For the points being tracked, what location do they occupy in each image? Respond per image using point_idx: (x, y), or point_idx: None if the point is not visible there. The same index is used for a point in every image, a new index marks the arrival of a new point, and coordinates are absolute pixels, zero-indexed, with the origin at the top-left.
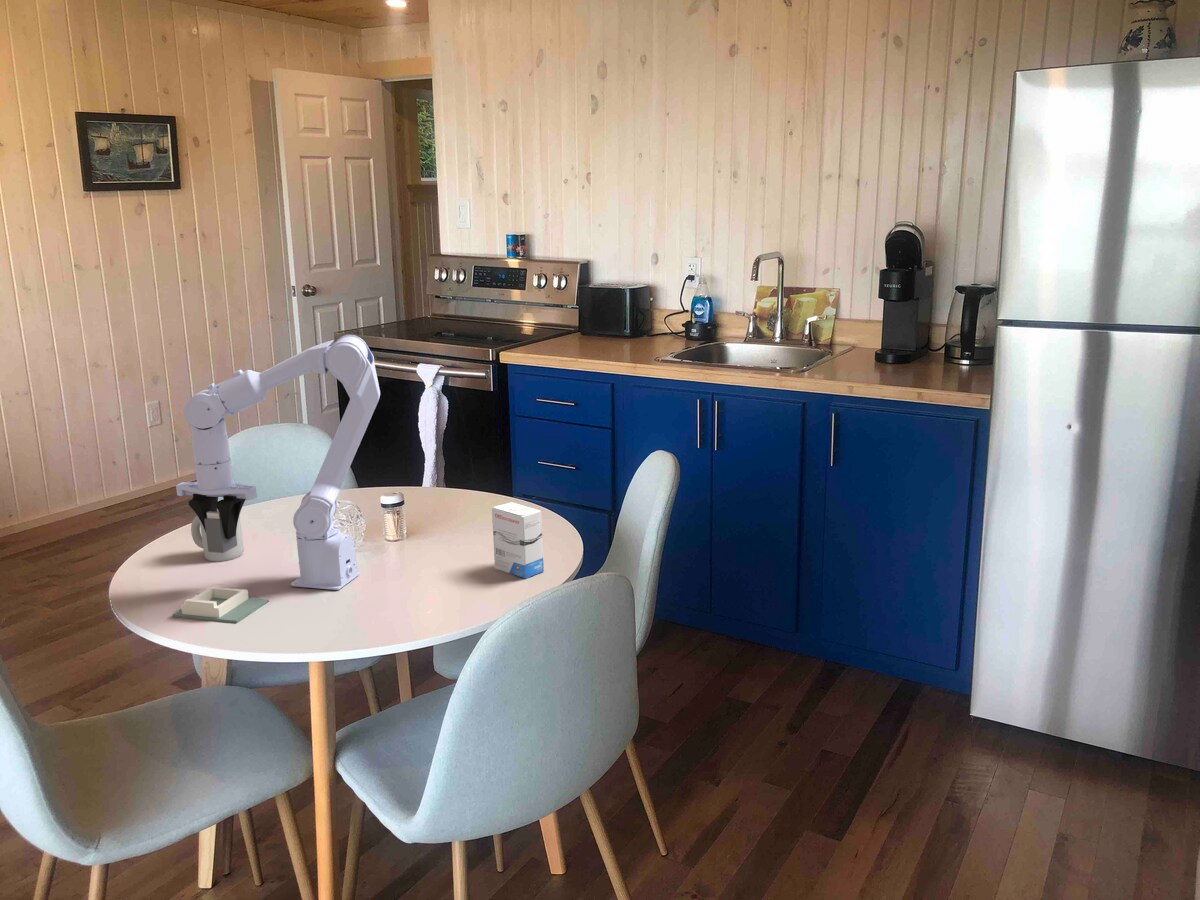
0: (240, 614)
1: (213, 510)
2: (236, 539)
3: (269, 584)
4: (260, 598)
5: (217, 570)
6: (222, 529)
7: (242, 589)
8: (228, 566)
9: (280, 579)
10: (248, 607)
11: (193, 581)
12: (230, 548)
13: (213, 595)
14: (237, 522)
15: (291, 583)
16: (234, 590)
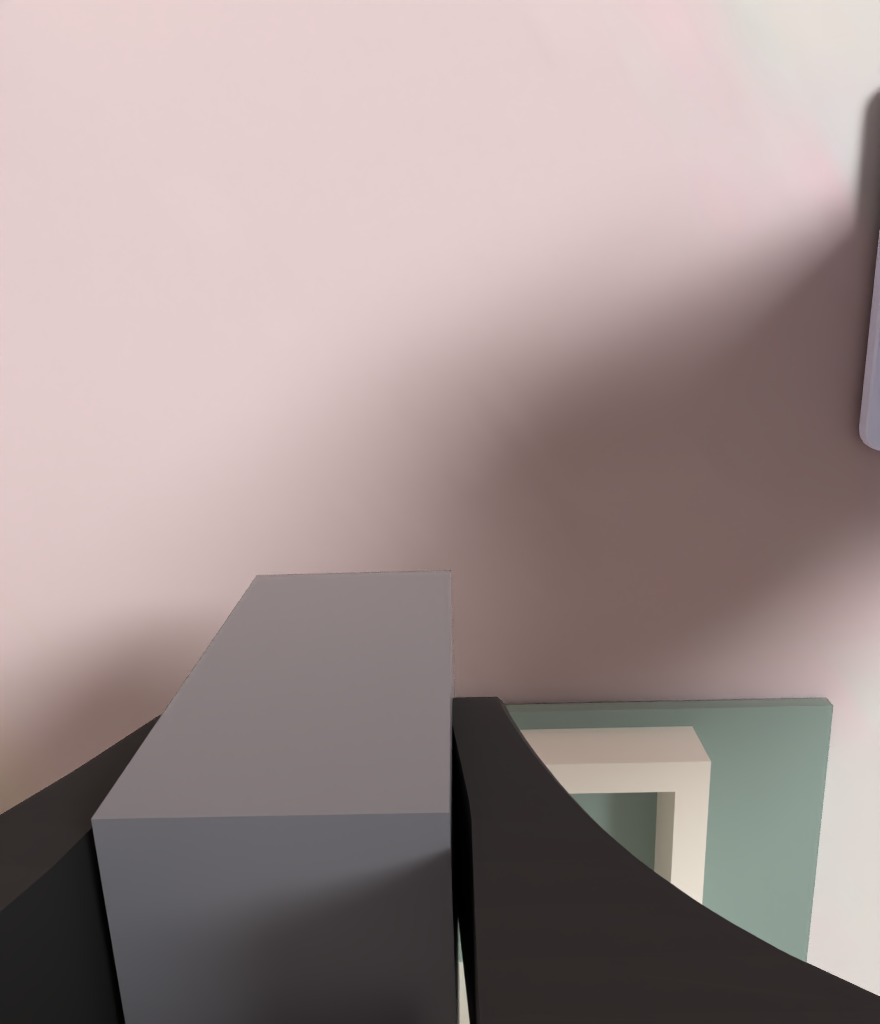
0: (779, 928)
1: (62, 988)
2: (449, 600)
3: (665, 432)
4: (770, 705)
5: (67, 264)
6: (458, 974)
7: (670, 763)
8: (86, 155)
9: (696, 320)
10: (770, 837)
11: (68, 510)
12: (454, 692)
13: None
14: (548, 770)
15: (876, 442)
16: (624, 790)
